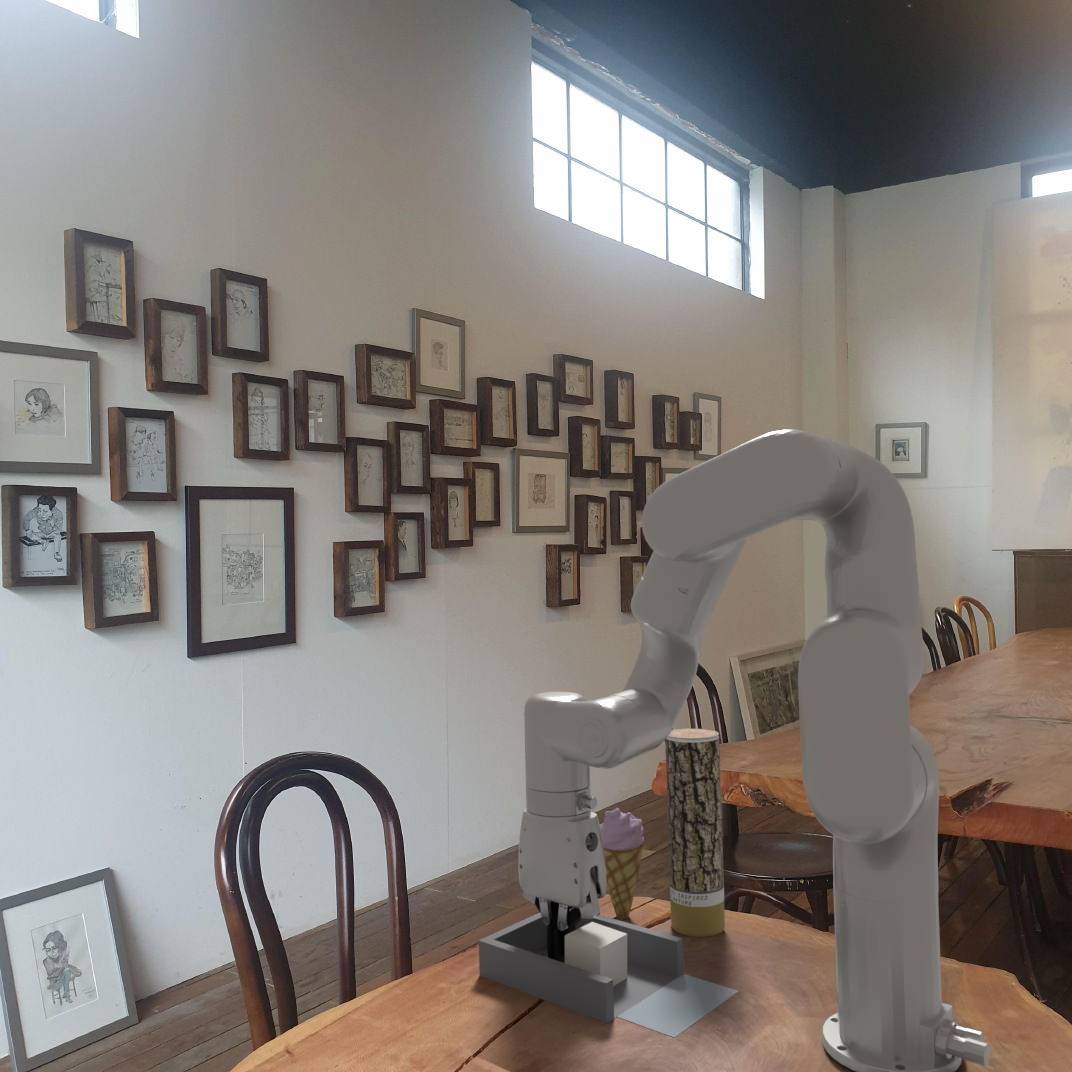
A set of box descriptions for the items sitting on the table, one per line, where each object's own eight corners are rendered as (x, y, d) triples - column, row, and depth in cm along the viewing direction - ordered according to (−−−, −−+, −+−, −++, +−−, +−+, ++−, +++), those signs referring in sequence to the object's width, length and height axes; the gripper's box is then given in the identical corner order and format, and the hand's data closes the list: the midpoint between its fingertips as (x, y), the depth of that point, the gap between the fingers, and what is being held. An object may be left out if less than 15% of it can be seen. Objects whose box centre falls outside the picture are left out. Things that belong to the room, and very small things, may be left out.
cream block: (627, 978, 109) (627, 933, 109) (600, 994, 105) (600, 948, 105) (591, 964, 112) (592, 921, 112) (564, 979, 108) (564, 935, 108)
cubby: (738, 995, 105) (737, 953, 105) (665, 1049, 94) (663, 1002, 94) (560, 939, 122) (559, 903, 122) (479, 979, 111) (478, 940, 111)
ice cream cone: (590, 926, 126) (586, 810, 126) (601, 909, 131) (597, 798, 132) (641, 930, 124) (637, 812, 124) (649, 913, 130) (646, 800, 130)
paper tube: (725, 942, 119) (718, 738, 120) (669, 939, 121) (663, 738, 121) (725, 921, 126) (719, 728, 126) (672, 919, 127) (666, 728, 128)
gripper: (630, 803, 110) (633, 965, 110) (531, 784, 120) (534, 933, 120) (589, 818, 104) (593, 989, 104) (489, 797, 114) (492, 953, 114)
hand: (561, 959), depth 112 cm, fingers closed
